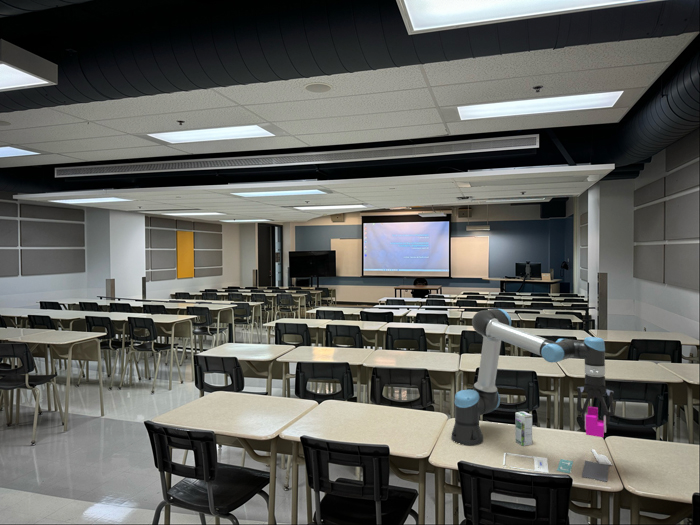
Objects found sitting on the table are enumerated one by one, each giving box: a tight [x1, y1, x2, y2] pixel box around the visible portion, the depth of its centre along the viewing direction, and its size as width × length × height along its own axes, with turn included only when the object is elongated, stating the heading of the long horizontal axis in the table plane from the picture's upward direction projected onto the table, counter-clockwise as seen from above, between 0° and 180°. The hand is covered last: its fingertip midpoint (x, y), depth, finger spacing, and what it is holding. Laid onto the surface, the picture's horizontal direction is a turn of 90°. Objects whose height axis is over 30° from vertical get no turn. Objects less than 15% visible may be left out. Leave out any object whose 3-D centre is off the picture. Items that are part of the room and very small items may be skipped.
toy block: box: [585, 405, 605, 438], centre depth 193 cm, size 15×6×8 cm, turn 150°
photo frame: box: [502, 452, 549, 474], centre depth 202 cm, size 15×1×18 cm
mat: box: [581, 460, 610, 483], centre depth 193 cm, size 9×17×1 cm, turn 149°
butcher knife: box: [590, 448, 613, 466], centre depth 206 cm, size 5×15×1 cm, turn 164°
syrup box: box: [514, 411, 533, 447], centre depth 223 cm, size 6×6×14 cm
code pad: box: [556, 458, 574, 474], centre depth 198 cm, size 5×13×1 cm, turn 149°
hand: (595, 429), depth 193 cm, fingers closed on toy block, 6 cm apart
